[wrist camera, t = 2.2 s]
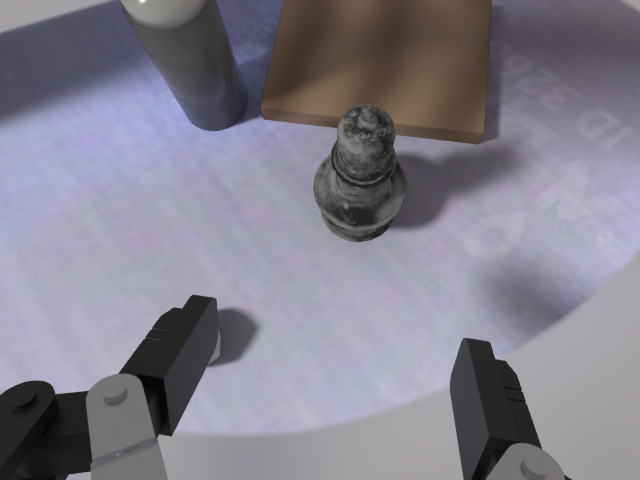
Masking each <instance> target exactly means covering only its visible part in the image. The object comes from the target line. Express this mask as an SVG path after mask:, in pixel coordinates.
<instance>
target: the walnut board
mask: <svg viewBox="0 0 640 480" xmlns="http://www.w3.org/2000/svg"><path fill="white" fill-rule="evenodd" d="M491 2H492V0H284V3H283V8H282V12H281V17H280V21H279V26H278V30H277V35H276V40H275V44H274V49H273V53H272V58H271V62H270V67H269V71H268V76H267V80H266V85H265V89H264V94H263V98H262V103H261V107H260V109H261V112H262V115H263V118H264V119H266V120H274V121H283V122H292V123H300V124H309V125H317V126H326V127H334V128H338V125H339V122H340V120H341V117H342V116H343V115H344V113H345V112H346V111H348V110H349V109H350V108H352V107H354V106H357V105H362V104H370V105H375V106H378V107H380V108H382V109H383V110H385V111H386V112H387V113H388V114H389V115H390V117H391V118H392V120H393V123H394V127H395V135H403V136H412V137H420V138H429V139H438V140H446V141H455V142H463V143H472V144H478V142H479V140H480V139H481V137H482V135H483V134H484V120H485V103H486V87H487V70H488V53H489V36H490V19H491Z"/></svg>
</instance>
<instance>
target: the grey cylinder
mask: <svg viewBox="0 0 640 480" xmlns="http://www.w3.org/2000/svg"><path fill="white" fill-rule="evenodd" d="M121 2H122V4H123V11H124V13H125V16H126V17H127V19H128V21H129V22H130V24H131V26H132V27H133V29H134V31H135V32H136V34H137V36H138V37H139V39H140V40H141V42H142V44H143V45H144V47H145V49H146V50H147V52H148V54H149V55H150V57H151V59H152V60H153V62H154V63H155V65H156V67H157V68H158V70H159V72H160V73H161V75H162V77H163V78H164V80H165V82H166V83H167V85H168V86H169V88H170V90H171V91H172V93H173V95H174V96H175V98H176V100H177V101H178V103H179V105H180V106H181V108H182V109H183V111H184V113H185V114H186V116H187V118H188V119H189V121H190V122H191V123H192V124H194V125H195V126H196V127H198V128H200V129H203V130H208V131H218V130H223V129H226V128H228V127H231V126H232V125H234V124H235V123H237V122H238V121H239V120H240V119H241V118H242V116H243V115H244V113H245V111H246V109H247V105H248V96H247V92H246V89H245V86H244V83H243V80H242V77H241V74H240V71H239V68H238V65H237V62H236V59H235V56H234V54H233V51H232V48H231V45H230V42H229V39H228V36H227V33H226V30H225V27H224V24H223V21H222V18H221V15H220V12H219V9H218V6H217V3H216V0H121Z"/></svg>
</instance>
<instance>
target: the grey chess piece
mask: <svg viewBox="0 0 640 480" xmlns="http://www.w3.org/2000/svg"><path fill="white" fill-rule="evenodd" d="M394 140H395V127H394V123H393V120H392V118H391V117H390V115H389V114H388V113H387V112H386V111H385V110H383V109H382V108H380V107H378V106H375V105H370V104H362V105H357V106H354V107H352V108H350V109H349V110H348V111H346V112H345V113H344V115H343V116H342V117H341V120H340V122H339V125H338V131H337V141H336V143H335V144H334V146H333V148H332V151H331V154H330V155H329V156H328V157H327V158H325V160H324V161H323V162H322V164H321V165H320V166H319V168H318V171H317V173H316V176H315V179H314V194H315V200H316V202H317V204H318V206H319V208H320V210H321V213H322V218H323V220H324V222H325V224H326V226H327V227H328V228H329V229H330V230H331V231H332V232H333V233H334V234H336V235H337V236H339V237H340V238H343V239H345V240H348V241H355V242H362V241H368V240H371V239H373V238H376V237H378V236H379V235H381V234H382V233H383V232H384V231H385V230H386V229H387V228H388V227H389V225H390V224H391V222H392V220H393V218H394V217H395V216H396V215H397V214H398V212H399V211H400V209H401V208H402V206H403V203H404V200H405V197H406V190H407V183H406V179H405V175H404V172H403V170H402V168H401V167H400V165H399V163H398V162H397V161H396V154H395V150H394V148H393V144H394Z"/></svg>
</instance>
